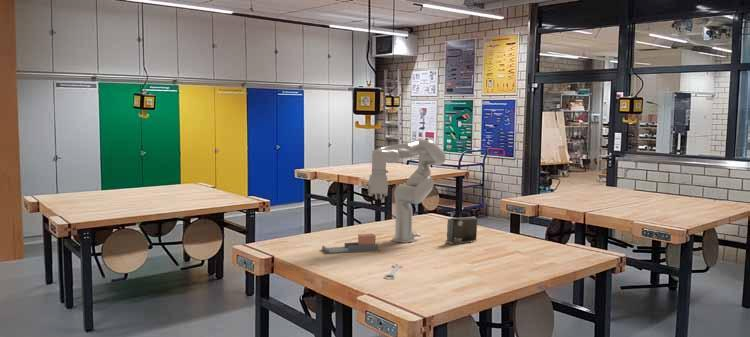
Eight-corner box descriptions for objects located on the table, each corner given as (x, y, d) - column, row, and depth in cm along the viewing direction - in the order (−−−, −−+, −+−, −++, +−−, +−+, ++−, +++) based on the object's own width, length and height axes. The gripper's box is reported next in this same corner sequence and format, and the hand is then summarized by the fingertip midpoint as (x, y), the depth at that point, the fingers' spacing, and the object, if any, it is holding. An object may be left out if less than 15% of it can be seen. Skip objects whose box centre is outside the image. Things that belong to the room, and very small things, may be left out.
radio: (472, 238, 342) (473, 213, 341) (483, 241, 335) (484, 215, 334) (442, 242, 329) (443, 216, 328) (452, 245, 322) (453, 219, 321)
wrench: (404, 267, 278) (393, 266, 279) (404, 264, 278) (393, 263, 279) (394, 280, 254) (382, 279, 255) (394, 277, 254) (382, 276, 255)
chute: (372, 246, 317) (372, 240, 316) (378, 250, 307) (378, 244, 307) (322, 249, 307) (322, 244, 307) (327, 254, 298) (327, 248, 298)
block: (372, 245, 314) (372, 233, 313) (375, 247, 309) (375, 235, 309) (358, 246, 311) (358, 234, 311) (361, 248, 307) (361, 236, 306)
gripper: (389, 172, 319) (388, 205, 320) (363, 172, 315) (362, 205, 316) (394, 173, 312) (393, 207, 313) (367, 173, 307) (366, 207, 309)
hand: (377, 206), depth 315 cm, fingers closed
